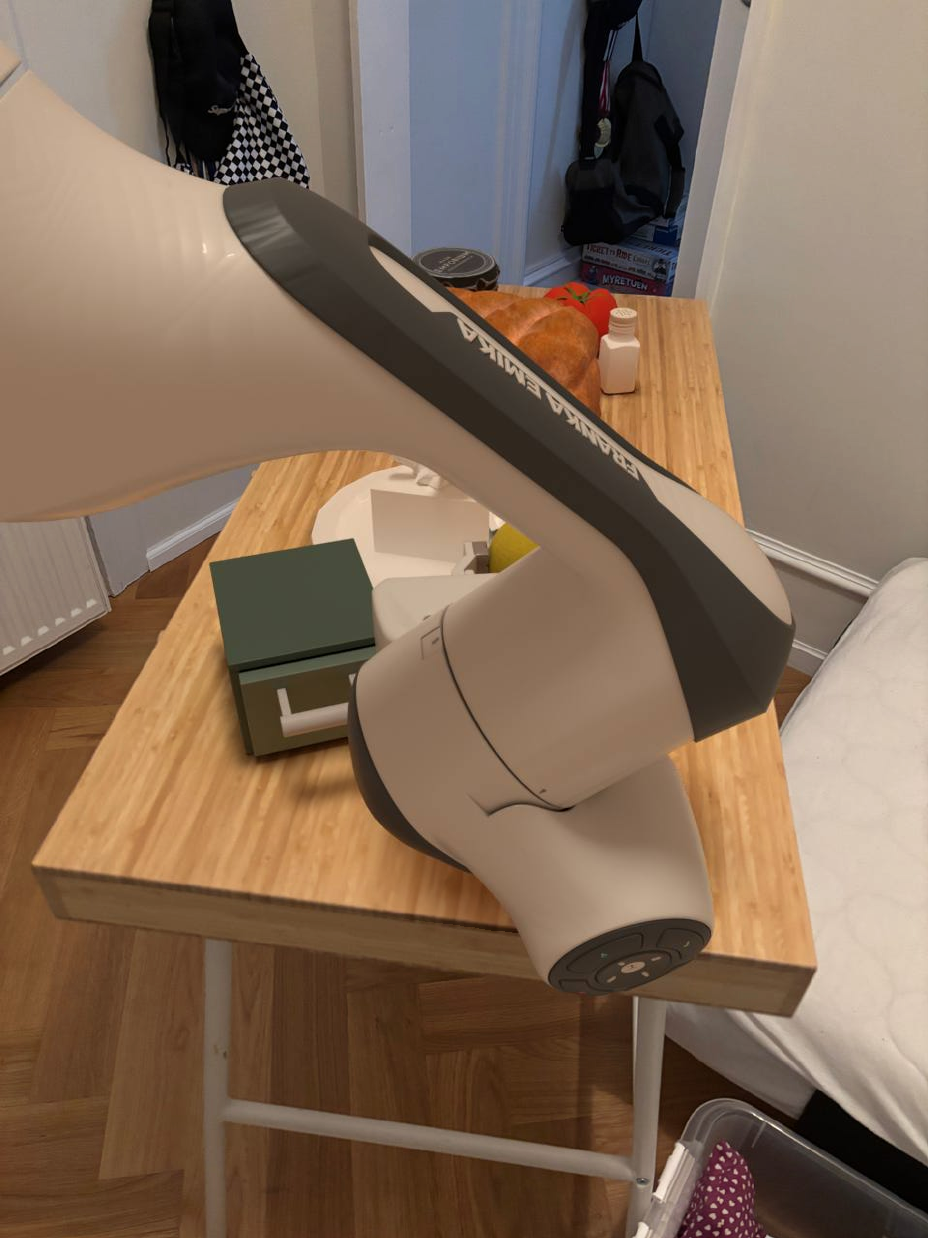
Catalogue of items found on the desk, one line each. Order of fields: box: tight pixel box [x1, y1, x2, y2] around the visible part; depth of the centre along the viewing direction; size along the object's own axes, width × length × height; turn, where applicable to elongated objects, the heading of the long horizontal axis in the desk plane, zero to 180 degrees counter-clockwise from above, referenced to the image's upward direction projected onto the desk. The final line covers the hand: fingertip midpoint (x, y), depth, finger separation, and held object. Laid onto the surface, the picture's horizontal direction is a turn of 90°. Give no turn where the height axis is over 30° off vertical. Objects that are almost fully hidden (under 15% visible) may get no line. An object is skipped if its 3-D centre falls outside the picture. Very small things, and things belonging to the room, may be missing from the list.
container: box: [410, 246, 502, 292], centre depth 126 cm, size 13×13×10 cm
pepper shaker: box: [598, 307, 641, 395], centre depth 113 cm, size 4×4×10 cm
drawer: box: [238, 644, 377, 757], centre depth 69 cm, size 16×10×7 cm, turn 18°
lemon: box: [488, 523, 539, 573], centre depth 61 cm, size 6×6×8 cm
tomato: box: [543, 281, 619, 351], centre depth 123 cm, size 11×11×8 cm
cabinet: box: [208, 538, 376, 756], centre depth 72 cm, size 12×11×9 cm
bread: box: [446, 287, 602, 419], centre depth 103 cm, size 14×26×16 cm, turn 74°
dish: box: [310, 454, 506, 588], centre depth 87 cm, size 25×25×11 cm
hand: (526, 547), depth 61 cm, fingers closed on lemon, 5 cm apart
